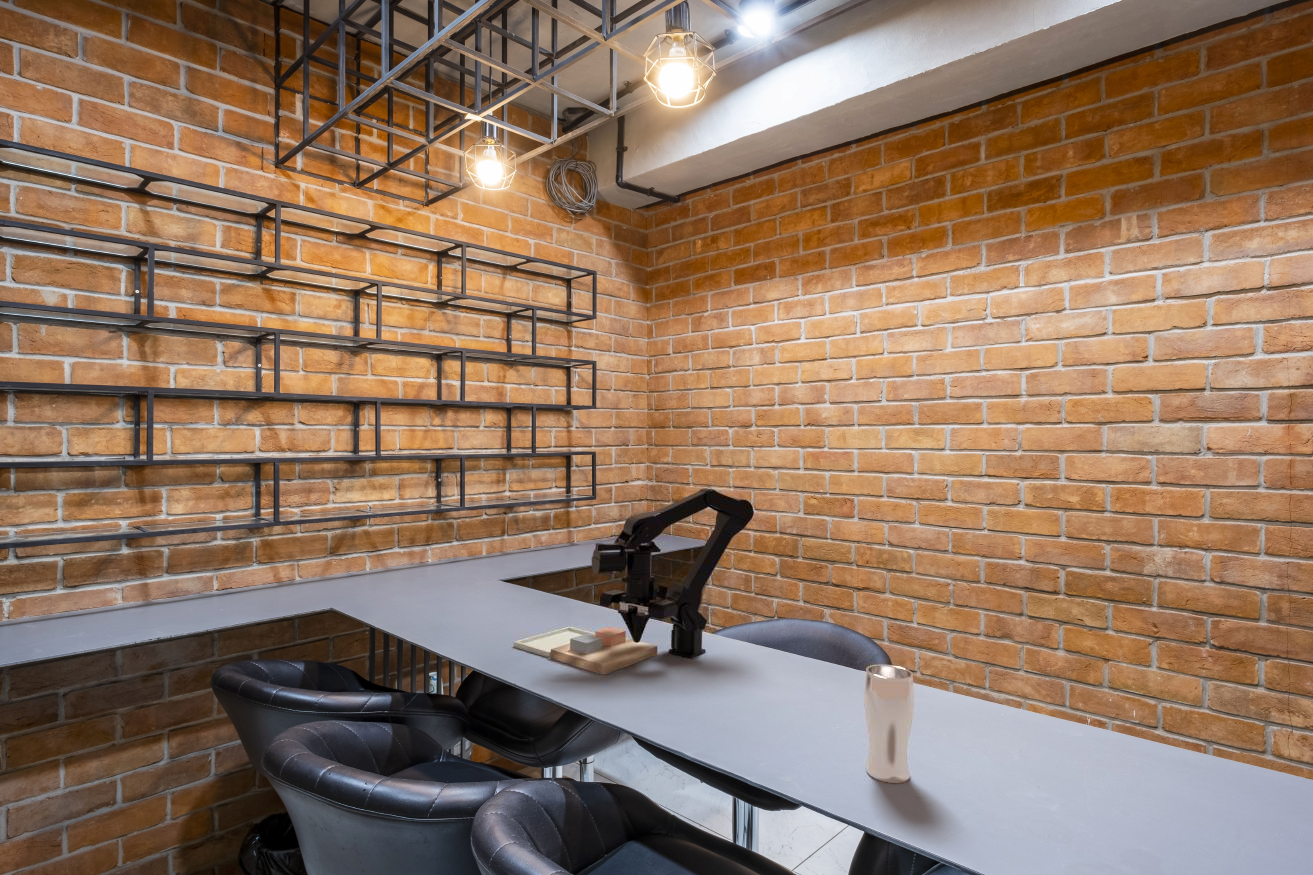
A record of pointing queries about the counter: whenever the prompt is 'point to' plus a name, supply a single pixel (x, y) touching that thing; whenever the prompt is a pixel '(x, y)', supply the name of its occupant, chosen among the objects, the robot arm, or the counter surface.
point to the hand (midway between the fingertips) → (636, 642)
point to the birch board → (606, 656)
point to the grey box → (586, 644)
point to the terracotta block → (611, 636)
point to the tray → (549, 640)
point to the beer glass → (888, 721)
